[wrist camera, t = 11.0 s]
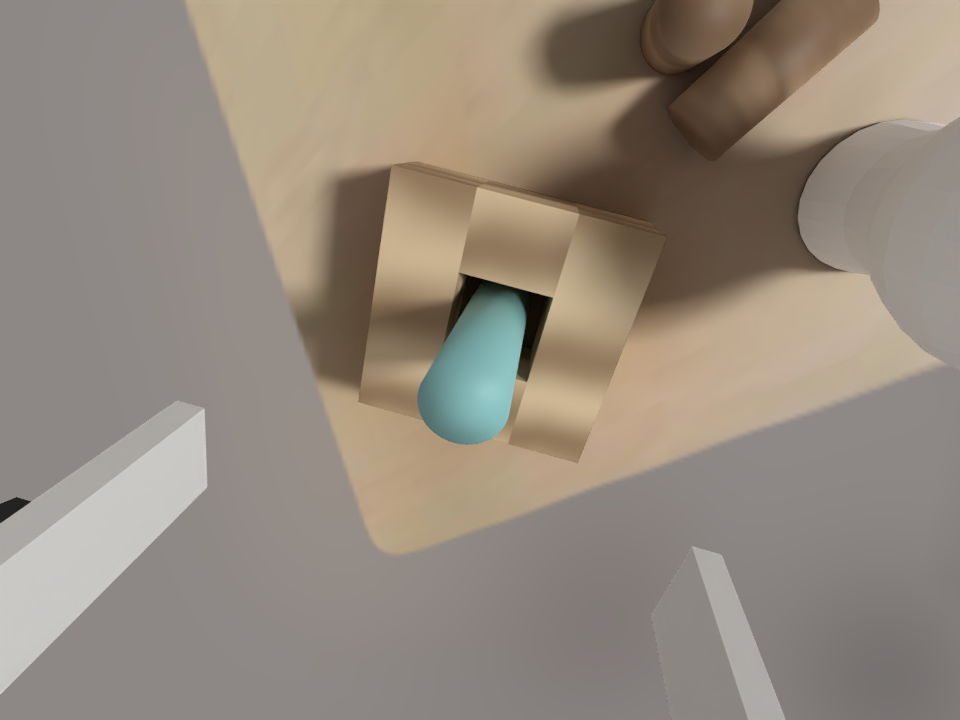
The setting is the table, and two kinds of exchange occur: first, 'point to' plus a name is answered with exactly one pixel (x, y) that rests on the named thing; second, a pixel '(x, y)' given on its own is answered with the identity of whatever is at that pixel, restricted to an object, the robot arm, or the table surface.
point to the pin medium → (767, 69)
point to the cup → (895, 223)
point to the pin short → (690, 31)
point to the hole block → (513, 262)
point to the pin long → (476, 367)
